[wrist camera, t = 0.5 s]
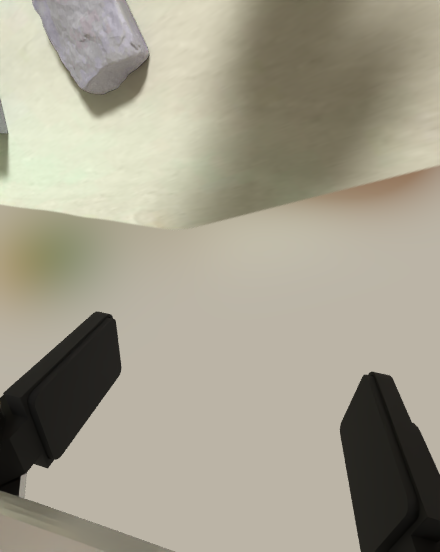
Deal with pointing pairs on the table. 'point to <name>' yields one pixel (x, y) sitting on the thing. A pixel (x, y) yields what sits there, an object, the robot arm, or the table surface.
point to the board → (2, 121)
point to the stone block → (94, 40)
